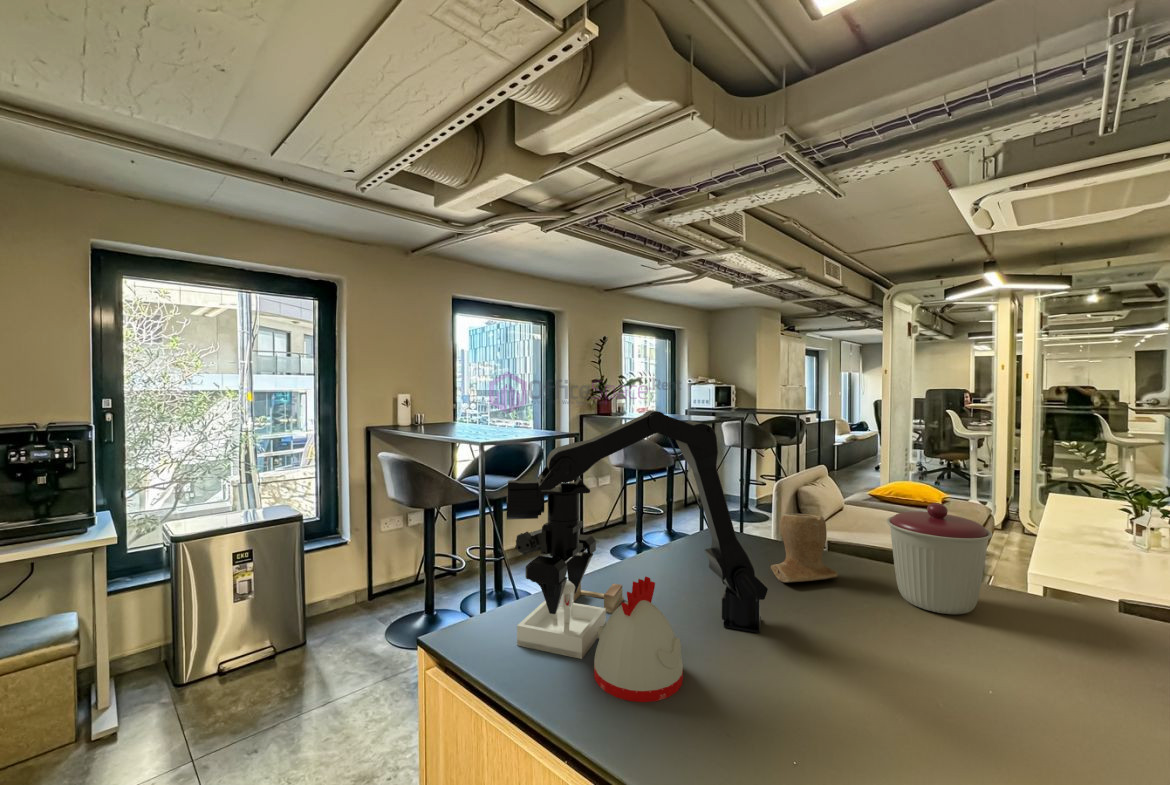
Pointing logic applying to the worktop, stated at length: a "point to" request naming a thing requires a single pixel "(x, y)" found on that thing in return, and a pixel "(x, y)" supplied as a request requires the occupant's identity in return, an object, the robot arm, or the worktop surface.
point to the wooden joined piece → (605, 596)
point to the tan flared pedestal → (803, 549)
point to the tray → (575, 644)
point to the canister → (938, 559)
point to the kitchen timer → (638, 650)
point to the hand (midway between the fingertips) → (563, 602)
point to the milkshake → (565, 610)
